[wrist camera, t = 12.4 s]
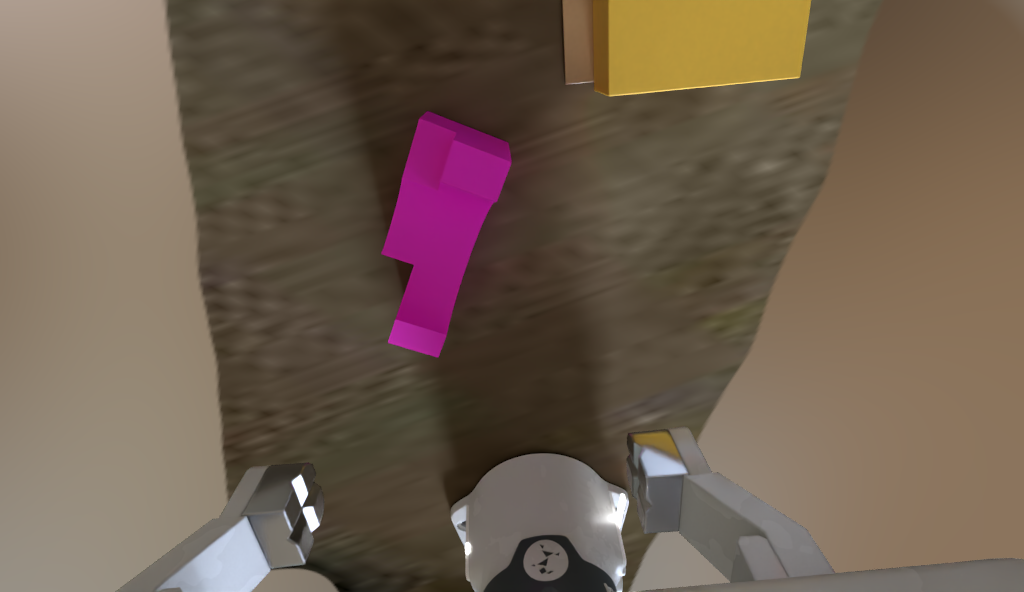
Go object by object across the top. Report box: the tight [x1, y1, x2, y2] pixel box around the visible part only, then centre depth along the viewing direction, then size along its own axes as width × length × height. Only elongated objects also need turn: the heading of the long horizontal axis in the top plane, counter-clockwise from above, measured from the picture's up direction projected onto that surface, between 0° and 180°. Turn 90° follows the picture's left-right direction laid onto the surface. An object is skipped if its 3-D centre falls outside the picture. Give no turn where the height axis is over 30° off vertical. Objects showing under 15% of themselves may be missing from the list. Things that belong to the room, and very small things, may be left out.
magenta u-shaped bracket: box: [382, 111, 512, 358], centre depth 37 cm, size 15×6×8 cm, turn 159°
